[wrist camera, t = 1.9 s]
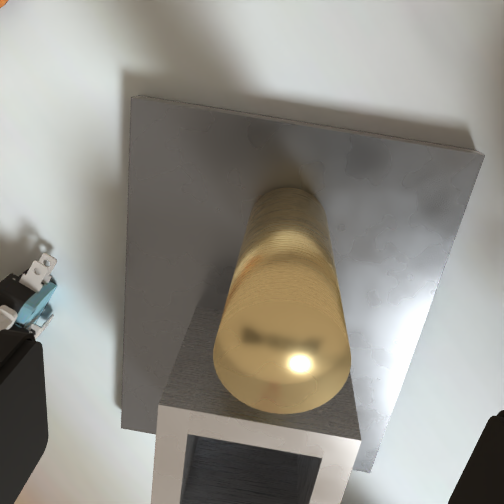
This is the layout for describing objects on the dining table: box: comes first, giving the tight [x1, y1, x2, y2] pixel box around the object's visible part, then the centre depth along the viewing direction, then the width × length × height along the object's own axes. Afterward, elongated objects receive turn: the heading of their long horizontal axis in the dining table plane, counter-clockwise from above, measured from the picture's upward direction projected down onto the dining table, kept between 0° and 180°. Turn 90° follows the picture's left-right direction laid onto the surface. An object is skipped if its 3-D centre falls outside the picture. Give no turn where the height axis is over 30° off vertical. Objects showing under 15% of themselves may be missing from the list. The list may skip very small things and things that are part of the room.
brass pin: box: [213, 187, 351, 414], centre depth 16 cm, size 4×4×10 cm
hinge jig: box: [121, 95, 485, 504], centre depth 20 cm, size 15×19×8 cm
